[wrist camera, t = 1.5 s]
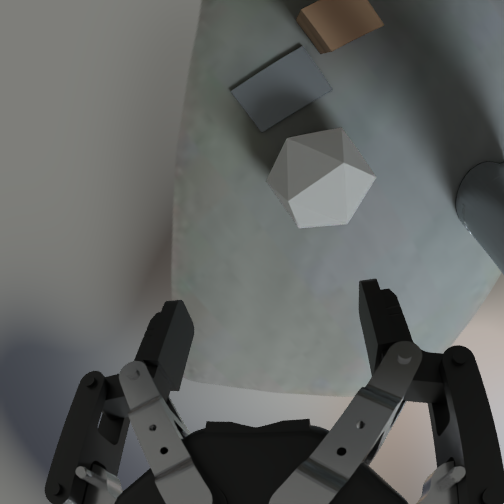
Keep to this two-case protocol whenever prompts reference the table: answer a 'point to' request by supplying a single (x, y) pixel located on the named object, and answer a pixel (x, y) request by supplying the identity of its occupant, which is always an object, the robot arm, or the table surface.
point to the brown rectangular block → (337, 22)
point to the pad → (282, 89)
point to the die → (320, 178)
